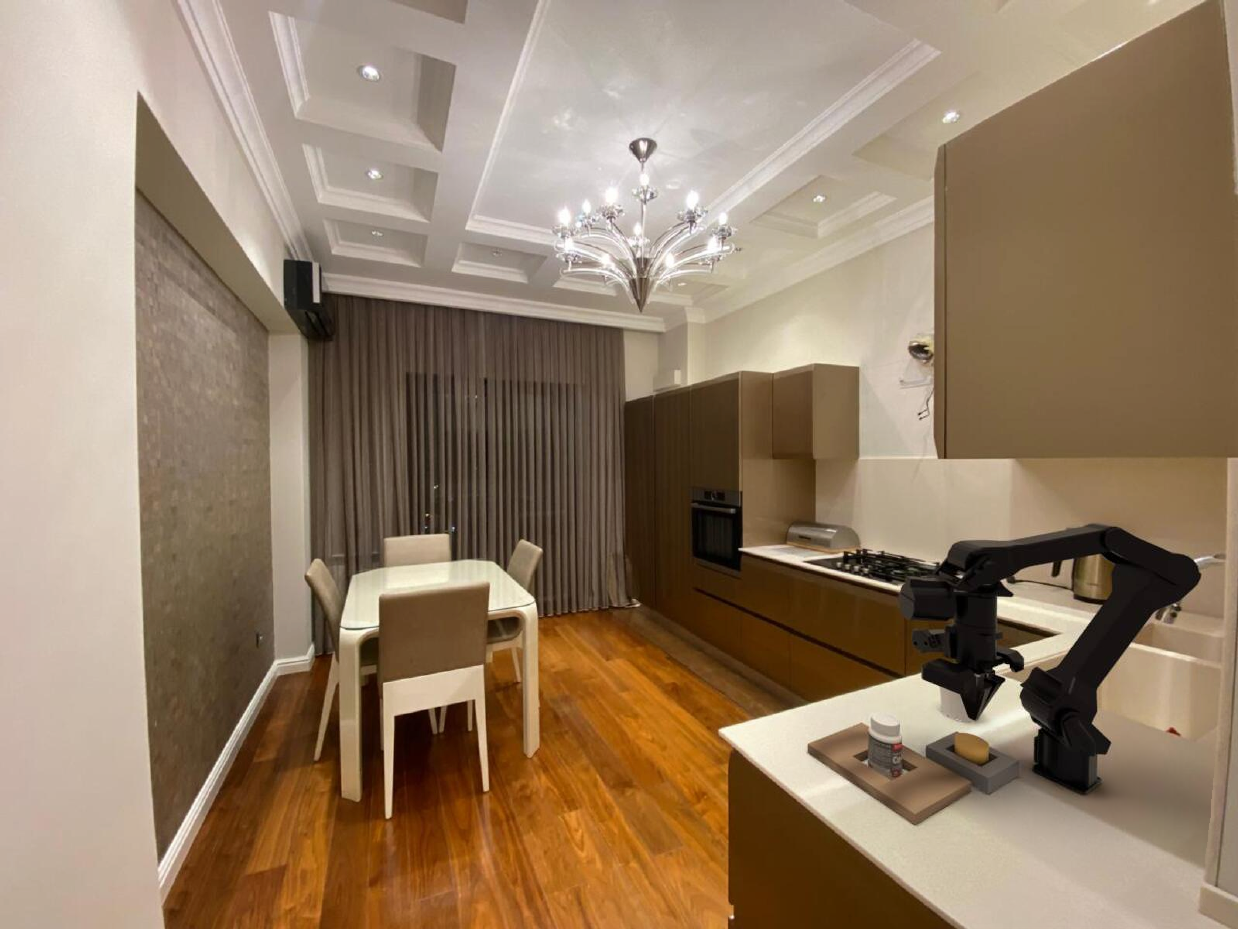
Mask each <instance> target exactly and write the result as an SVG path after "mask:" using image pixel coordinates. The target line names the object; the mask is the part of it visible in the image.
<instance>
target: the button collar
mask: <svg viewBox="0 0 1238 929" xmlns="http://www.w3.org/2000/svg"><path fill="white" fill-rule="evenodd" d="M957 733H960V731H954V732H952V733H950V734H947V735H945V736H943V737H941V738H939V739H937V740H935V741H933V742H931V743H929V744H926V745H925V757H926V758H928V759H930V760H932V761H934V762H936V763H937V764H939V765H941V766H943V767H945V768H947V769H948V770H950V771H952V772H954V773H956V774H958V775H960V776H961V777H963V778H965V779H967V780H969V781H971V787H973V788H975V789H977V790H978V791H980V792H982V793H984V794H986V795H987V796H989V795H990V794H992V793H993V792H995V791H998V789H1000V788H1002V787H1003V786H1006V785H1007V784H1008V783H1010V782H1011V781H1013V780H1015V779H1016V778H1018V777H1019V770H1020V769H1019V768H1020V765H1019V764H1020V761H1019V759H1016V758H1014V757H1012V756H1010V755H1008V754H1006V753H1004V752H1002V751H999V750H997V749H995V748H993V747H991V746H989V761H988V763H987V764H985V765H981V766H980V765H978V764H974V763H972V762H970V761H968V760H966V759H964V758H962V757H960V756H958V755H956V754H955V734H957Z"/></svg>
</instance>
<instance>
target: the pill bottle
mask: <svg viewBox="0 0 1238 929" xmlns="http://www.w3.org/2000/svg"><path fill="white" fill-rule="evenodd" d="M900 730H901V728H900V720H899V719H898V718H897V717H895V716H894V715H892V714H890V713H886V712H882V711H878V712H877V711H876V712H873V713H871V714H870V725H869V729H868V758H867V766H869V767H871V768H872V769H874V770H875V771H877V772H879V773H880V774H882V775H883V776H885V777H887V778H888V779H890V780H894V779H896V778H898V777H900V776H902V775H903V771H902V769H903V768H902V745H903V735H902V733H901V732H900Z"/></svg>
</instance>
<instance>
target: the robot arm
mask: <svg viewBox="0 0 1238 929" xmlns="http://www.w3.org/2000/svg"><path fill="white" fill-rule="evenodd" d="M1097 555H1099V556H1101V558H1102V559H1104V560H1106V561H1108V562H1109V563H1110V564H1112V565H1114V566H1113V568H1112V570H1111V573H1110V575H1111V577H1110V578H1111V592H1110V594H1109V595H1108V597H1107V598H1106V600H1105V601H1104V602H1103V604H1102V605H1101V607H1099V609H1098V610H1097V611H1096V613H1095V614H1094V616H1093V617H1092V619H1091V620H1090V622H1089V623H1088V624H1087V625H1086V627H1085V628H1084V629H1083V631H1082V632H1081V634H1080V635H1079V637H1078V638H1077V639H1076V641H1075V642H1074V644H1072V646H1071V648H1069V650H1068V652H1067V653H1066V654H1065V656H1064V657H1063V659H1062V660H1061V661H1060V663H1059V664H1058V665H1056V666H1055V667H1053V668H1049V669H1047V670H1044V669H1042V668H1040V667H1039V666H1035V667H1034V668H1032V669H1031V671H1030V674H1029V675H1028V677H1027V678H1026V679H1025V681H1023V682H1021V683H1020V684H1019V686H1020V687H1021V688H1022V689H1021V691H1020V693H1019V697H1018V698H1019V699H1020V702H1021V706H1022V707H1023V709H1024V710H1025V711H1026V712H1027V713H1028V714H1029V717H1030V719H1031V721H1032V723H1034V724H1036V725H1038V726H1039V727H1040V728H1039V729H1037V735H1036V736H1034V737H1033V762H1034V763H1035V764H1034V765H1032V766H1031V770H1032V771H1033V772H1034V773H1037V774H1039V775H1041V776H1043V777H1045V778H1047V779H1049V780H1051V781H1054V782H1056V783H1058V784H1060V785H1062V786H1064V787H1067V788H1069V789H1071V790H1072V791H1075V792H1076V793H1079V794H1081V795H1087V794H1089V793H1090V792H1091V791H1092V790H1093V789H1095V788H1096V787H1097V786H1099V785H1100V784H1101V783H1102V777H1100V776H1098V755H1099V756H1100V755H1101V756H1102V755H1103V756H1105V755H1108V753H1109V750H1110V748H1111V745H1112V742H1111V740H1110V739H1109V738H1108V737H1107V736H1106V735H1104V734H1103V732H1102V731H1100V730H1099V728H1097V727H1096V726H1095V725H1094V724H1093V722H1094V719H1095V718H1096V716H1097V713H1098V689H1099V687H1100V686H1101V684H1102V683H1103V681H1104V680H1105V678H1107V676H1108V675H1109V673H1111V671H1112V670H1113V668H1114V667H1115V665H1117V663H1118V662H1119V660H1120V659H1121V657H1122V656H1123V655H1124V653H1125V652H1126V651H1127V650H1128V648H1129V647H1130V646H1131V644H1132V643H1133V641H1134V640H1135V639H1136V637H1137V636H1138V635H1139V634H1140V632H1141V631H1142V629H1143V628H1144V626H1145V625H1146V624H1147V623H1148V621H1149V620H1150V618H1151V617H1152V616H1153V615H1154V613H1156V612H1158V611H1159V610H1161V609H1164V608H1167V607H1169V606H1171V605H1174V604H1176V603H1179V602H1181V601H1182V600H1183V599H1184V598H1185V597H1186V596H1187V595H1188V594H1189V593H1191V592H1192V591H1193V590H1194V589H1195V588H1196V587H1197V586H1198V585H1199V584H1200V582H1201V579H1202V575H1203V574H1202V573H1201V572H1200V570H1199V566H1198V563H1196V561H1195V560H1194V559H1193V558H1192V557H1190V556H1189V555H1185V554H1183V553H1179V552H1175V551H1170V550H1168V549H1165V548H1163V547H1161V546H1158V545H1156V544H1154V543H1151V542H1150V541H1147V540H1144V539H1142V538H1139V537H1137V536H1135V535H1134V534H1132V533H1131V532H1128V531H1127V530H1124V529H1123V528H1122V527H1119V526H1116V525H1110V524H1103V523H1097V522H1095V523H1094V522H1092V523H1088V524H1086V525H1083V526H1079V527H1074V528H1069V529H1064V530H1063V529H1062V530H1059V531H1053V532H1048V533H1042V534H1038V535H1037V534H1035V535H1033V536H1032V535H1031V536H1027V537H1020V538H1016V539H1009V540H996V539H995V540H993V539H992V540H991V539H971V540H969V539H967V540H966V539H965V540H960V541H957V542H954V543H953V544H951V547H950V548H949V550H948V552H947V556H946V557H945V559H944V560H943V561H942V562H941V563H940V565H939V566H938V567H937V568H936V569H935V570H934V571H933V573H932V574H931V577H919V576H918V577H917V576H914V575H913V576H911V575H907V576H904V583H903V584H902V585H901V587H900V591H899V592H898V605H899V609H900V612H901V615H902V616H903V617H904V619H905V620H908V621H929V622H930V621H931V622H948V621H949V620H951V619H952V623H949V624H946V626H944V629H943V628H942V629H927V628H923V629H921V628H917V629H913V630H912V632H911V633H912V634H911V639H910V644H911V646H913V648H914V649H915V650H917V651H918V652H919V654H921V655H923V654H927V653H942V657H944V658H945V659H944V658H940V657H939V658H936V659H934V660H930V661H927V662H925V663H923V664H922V665H921V667H920V668H921V670H920V671H921V672H920V673H921V674H920V677H921V679H922V680H923V681H925V682H928V683H930V684H932V685H936V686H937V687H939V688H940V687H942V688H945V689H947V690H950V691H952V692H955V693H957V694H960V696H961V699H962V702H963V705H964V707H965V710H966V713H967V716H968V718H970V719H972V720H974V721H975V722H976V721H977V720H979V719H980V717H981V716H982V714H983V712H984V711H985V709H986V708H987V707H988V705H989V703H990V702H991V700H992V699H993V697H994V696H995V695H996V693H997V692H998V691H999V689H1000V687H1002V685H1003V683H1005V682H1006V678H1005V677H1003V676H1001V675H998V674H996V670H995V669H993V668H996V667H999V666H1001V665H1009V669H1010V671H1011V672H1013V673H1016V674H1017V673H1019V672H1022V671H1023V670H1025V657H1024V656H1023V655H1022V654H1021V653H1020V651H1019V650H1016V649H1013V648H1010V647H1007V646H1003V645H999V644H997V642H998V641H997V640H1001V639H1003V637H1004V636H1003V634H1004V631H1003V630H999V629H998V598H1013V597H1014V595H1015V594H1014V592H1013V591H1011V590H1010V589H1008V588H1007V587H1006V586H1005V585H1004V583H1003V582H1002V581H1003V580H1006V579H1009V578H1012V577H1014V576H1016V574H1018V573H1019V572H1021V571H1022V570H1025V569H1027V568H1030V567H1036V566H1043V565H1047V564H1052V563H1057V562H1063V561H1069V560H1075V559H1080V558H1086V557H1091V556H1097ZM957 574H958V575H960V576H962V577H960V576H957ZM946 659H950V660H951V659H953V660H954V662H952V661H949V660H946Z"/></svg>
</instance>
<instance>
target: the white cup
mask: <svg viewBox="0 0 1238 929" xmlns="http://www.w3.org/2000/svg"><path fill="white" fill-rule="evenodd" d="M939 694H940V706H941V712H942V714H944V715H945V716H947V715H948V716H949V717H948V716H947V717H948V718H950V717H951V718H950V719H952V720H955V719H958V720H961V721H960V722H963V721H965V722H964V723H974V722H973V721H974V720H972V719H970V718H968V716H967V713H966V710H965V707H964V705H963V702H962V699H961V696H960V694H957V693H955V692H952V691H950V690H947V689H945V688H942V687H940V686H939ZM958 720H957V721H958Z"/></svg>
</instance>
